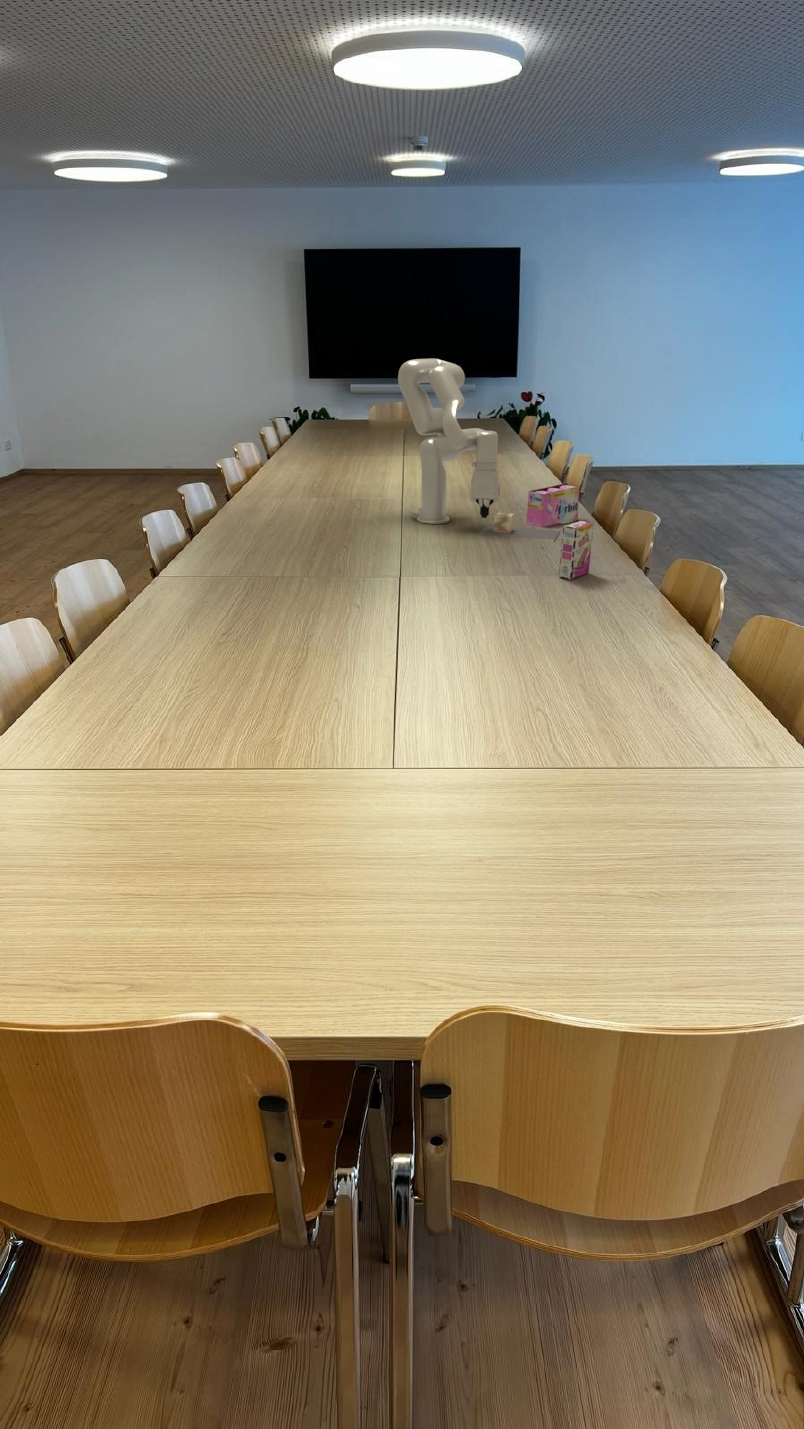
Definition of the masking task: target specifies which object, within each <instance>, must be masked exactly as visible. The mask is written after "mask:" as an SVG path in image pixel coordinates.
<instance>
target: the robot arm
mask: <svg viewBox="0 0 804 1429" xmlns="http://www.w3.org/2000/svg"><path fill="white" fill-rule="evenodd" d="M397 375H398V376H397V381H398V383H397V384H398V387H399V389H400V392H401V394H402V396H403V398H404V400H405V402H406V406H407V408H408V412H409V414H410V417H411V420H412V422H413V425H414V428H415V431H416V432H417V433H418V435H421V436H429V437H426V438H425V439H424V440H422V442H421V443H420V446H419V450H418V451H419V452H418V453H419V458H420V464H421V465H420V466H421V467H420V468H421V489H420V490H421V495H420V496H421V497H420V498H421V499H420V508H418V509H417V508H411V509H410V514H411V515H418V516H417V517H416V521H417V522H418V523H421V524H422V523H423V524H427V525H428V524H430V525H440V524H446V523H448V522H450V517H449V516H447V514H446V510H447V476H448V475H447V471H446V470H447V469H446V467H445V465H444V462H450V461H453V460H457V459H458V458H459V457H460V456H461V454H462V452H467V451H476V453H475V454H476V455H475V462H472V463H471V467H473V468H475V469H474V470H473V471H472V476H471V481H470V482H471V483H470V501H472V502H476V504H477V505H478V506H479V507H480V509H479V515H480V516H481V517H480V518H481V519H486V518H487V517H489V516H490V506H491V505H492V504H494V503H499V502H500V500H501V499H500V492H501V491H500V490H501V488H500V487H501V486H500V475H499V470H498V469H497V467H498V465H497V464H498V443H499V442H498V441H499V435H498V432H497V431H495V430H484V429H482V428H479V427H477V428H476V427H474V428H473V427H472V428H464V429H462V427H461V426H460V424H459V422H458V419H457V412H458V411H460V409H461V408H463V406H464V404H465V402H466V401H465V397H464V396H463V393H462V392H461V390H460V388H461V387H462V386H463V385H464V383H465V378H466V375H465V373H464V370H463V369H462V367H461V366H460V365H457V364H456V363H453V362H449V361H446V360H442V359H439V358H416V359H410V360H407V361H406V362H403V364H401V366H400V368H399V370H398V374H397ZM427 383H428V384H430V386H431V388H432V390H433V393H434V394H435V396H436V398H437V400H438V402H439V404H440V406H441V407H433V405H432V403H431V400H430V398H429V395H428V393H427V392H426V391H425V389H424V388H423V387H422V386H421V385H420V384H427ZM432 435H435V436H432ZM485 501H486V502H485Z"/></svg>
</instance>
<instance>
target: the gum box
mask: <svg viewBox="0 0 804 1429" xmlns="http://www.w3.org/2000/svg"><path fill="white" fill-rule="evenodd" d="M579 502H580V485H577V486H573V485H569V484H568V483H561V484H560V483H559V484H557V485H551V486H547V487H542V488H537V489H532V490H528V497H527V509H526V510H527V512H526V513H527V514H526V525H531V526H534V527H535V526H536V527H541V528H545V527H548V526H549V527H550V526H553V525H557V524H563V525H566V523H567V524H571V523H574V522H573V521H575V522H577V521H576V520H578V521H579V504H580V503H579ZM570 522H571V523H570Z"/></svg>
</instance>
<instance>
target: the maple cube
mask: <svg viewBox="0 0 804 1429" xmlns="http://www.w3.org/2000/svg"><path fill="white" fill-rule="evenodd" d="M514 516H515V514H514V513H509V512H506V513H505V512H497V513H496V514H495V515H494V519H493V523H494V524H493V526H494V532H496V533H509V534H510V533H511V532H512V530H513V528H514Z"/></svg>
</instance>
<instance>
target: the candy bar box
mask: <svg viewBox="0 0 804 1429" xmlns="http://www.w3.org/2000/svg"><path fill="white" fill-rule="evenodd" d="M594 524H595V522H591V521H584V520H578V521H575V522H571V523H568V524H567V525H566V524H565V525H563V526H562V537H561V548H560V561H559V571H558V578H561V579H564V580H568V581H572V580H574V579H577V578H580V577H582V576H584V575H587V574H589V572H590V563H591V562H590V560H591V553H592V552H591V551H592V544H593V533H594Z"/></svg>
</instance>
